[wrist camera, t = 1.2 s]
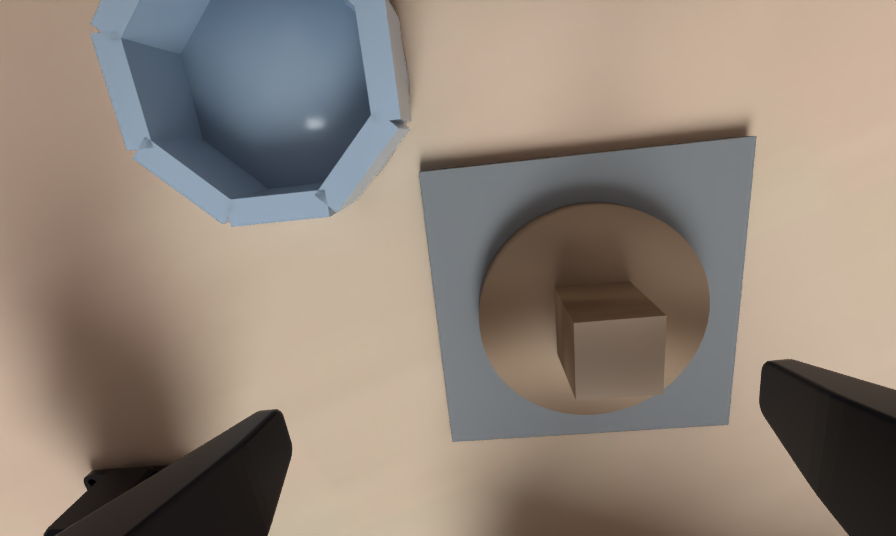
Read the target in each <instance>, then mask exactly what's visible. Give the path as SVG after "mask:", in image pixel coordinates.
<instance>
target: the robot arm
mask: <svg viewBox="0 0 896 536" xmlns="http://www.w3.org/2000/svg"><path fill="white" fill-rule="evenodd" d="M759 404H760V408H761V411H762V414H763V415H764V417H765V419H766V420H767V422H768V423H769V425H770V426H771V428H772V429H773V431H774V432H775V434H776V435H777V437H778V438H779V440H780V441H781V443H782V444H783V446H784V447H785V449H786V450H787V452H788V453H789V455H790V456H791V458H792V459H793V461H794V462H795V464H796V465H797V467H798V468H799V470H800V471H801V473H802V474H803V476H804V477H805V479H806V480H807V482H808V483H809V485H810V486H811V487H812V489H813V490H814V492H815V493H816V494H817V496H818V497H819V498H820V500H821V501H822V502H823V504H824V505H825V506H826V507H827V509H828V510H829V511H830V513H831V514H832V515H833V516H834V517H835V519H836V520H837V521H838V522H839V524H840V525H841V526H842V527H843V529H844V530H845V531H846V532H847V534H848V535H849V536H896V390H894V389H891V388H887V387H884V386H880V385H877V384H874V383H870V382H867V381H864V380H860V379H857V378H854V377H850V376H847V375H843V374H840V373H837V372H833V371H830V370H827V369H823V368H820V367H816V366H813V365H810V364H806V363H803V362H800V361H796V360H792V359H784V360H774V361H768V362H766V363H765V364H764V365H763V367H762V371H761V384H760V396H759ZM291 456H292V443H291V439H290V436H289V433H288V429H287V426H286V423H285V419H284V416H283V414H282V412H281V411H279V410H278V409H273V410H262V411H258V412H256V413H254V414H253V415H251V416H249V417H248V418H246V419H244V420H243V421H241V422H239V423H238V424H236V425H235V426H233V427H231V428H230V429H228V430H226V431H225V432H223V433H222V434H220V435H218V436H217V437H215V438H213V439H212V440H210V441H208V442H207V443H205V444H204V445H202V446H200V447H199V448H197V449H195V450H194V451H192V452H191V453H189V454H187V455H186V456H184V457H182V458H181V459H179V460H177V461H176V462H174V463H173V464H171V465H169V466H157V467H141V468H124V469H108V470H94V471H92V472H91V473H89V474H88V475H87V476H86V477H85V478H84V484H85V486H86V488H87V492H85V493H84V494H83V495H82V496H81V497H80V498H79V499H78V500H77V501H76V502H75V503H74V504H73V505H72V506H71V507H70V508H69V509H67V510H66V511H65V512H64V513H63V514H62V515H61V516H60V517H59V518H58V519H57V520H56V521H55V522H54V523H53V524H52V525H51V526H49V527H48V529H47V530H46V531H45V533H44V536H268V533H269V530H270V527H271V524H272V521H273V517H274V514H275V511H276V507H277V504H278V500H279V497H280V494H281V490H282V487H283V484H284V480H285V477H286V473H287V470H288V467H289V463H290V460H291Z"/></svg>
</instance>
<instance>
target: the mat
mask: <svg viewBox="0 0 896 536" xmlns="http://www.w3.org/2000/svg"><path fill="white" fill-rule="evenodd" d="M755 147H756V136H745V137H735V138H726V139H717V140H707V141H698V142H689V143H679V144H670V145H661V146H651V147H642V148H632V149H623V150H614V151H604V152H595V153H586V154H576V155H567V156H558V157H548V158H539V159H530V160H520V161H511V162H502V163H492V164H483V165H474V166H464V167H455V168H445V169H436V170H427V171H420V172H419V178H420V186H421V194H422V202H423V210H424V218H425V226H426V234H427V242H428V250H429V258H430V266H431V274H432V282H433V290H434V298H435V306H436V314H437V322H438V330H439V338H440V346H441V354H442V362H443V370H444V378H445V386H446V394H447V402H448V410H449V418H450V426H451V434H452V442H458V441H474V440H490V439H506V438H523V437H539V436H555V435H571V434H587V433H603V432H619V431H635V430H651V429H667V428H684V427H700V426H716V425H728V423H729V413H730V403H731V392H732V382H733V372H734V362H735V351H736V341H737V331H738V321H739V310H740V300H741V290H742V280H743V269H744V259H745V249H746V239H747V229H748V218H749V208H750V198H751V188H752V177H753V167H754V157H755ZM581 202H609V203H616V204H621V205H625V206H629V207H632V208H634V209H637V210H640V211H642V212H644V213H647V214H649V215H651V216H653V217H655V218H657V219H659V220H660V221H662V222H664V223H666V224H667V225H669V226H670V227H671V228H673V229H674V230H675V231H677V232H678V233H679V234H680V235H681V236H682V237H683V238H684V239H685V240H686V241H687V242H688V243H689V244H690V246H691V247H692V249H693V250H694V252H695V253H696V254H697V256H698V258H699V260H700V262H701V264H702V266H703V268H704V271H705V274H706V278H707V281H708V287H709V293H710V311H709V318H708V324H707V327H706V331H705V334H704V337H703V339H702V342H701V344H700V346H699V348H698V350H697V352H696V353H695V355H694V357H693V358H692V360H691V362H690V363H689V364H688V365H687V367H686V368H685V369H684V370H683V372H682V373H681V374H680V375H679V376H678V377H677V378H676V379H675V380H674V381H673V382H672V383H670V384H669V385H668V386H667V387H665V388H664V391H663V395H654V396H652V397H650V398H649V399H647V400H645V401H643V402H641V403H639V404H636V405H634V406H631V407H628V408H626V409H623V410H619V411H615V412H610V413H604V414H596V415H576V414H566V413H561V412H557V411H552V410H549V409H546V408H544V407H541V406H538V405H536V404H534V403H532V402H530V401H528V400H527V399H525V398H523V397H522V396H520V395H519V394H517V393H516V392H515V391H514V390H513V389H511V388H510V387H509V386H508V385H507V384H506V383H505V382H504V381H503V380H502V379H501V378H500V376H499V375H498V374H497V372H496V371H495V369H494V368H493V366H492V365H491V363H490V361H489V359H488V357H487V355H486V352H485V349H484V346H483V343H482V339H481V333H480V327H479V297H480V290H481V286H482V282H483V279H484V276H485V274H486V271H487V269H488V266H489V265H490V263H491V261H492V259H493V258H494V256H495V254H496V253H497V252H498V250H499V249H500V248H501V246H502V245H503V244H504V242H505V241H506V240H507V239H508V238H509V237H510V236H511V235H512V234H513V233H514V232H516V231H517V230H518V229H519V228H521V227H522V226H523V225H525V224H526V223H527V222H529V221H531V220H532V219H534V218H536V217H537V216H539V215H541V214H543V213H546V212H548V211H550V210H553V209H555V208H559V207H562V206H565V205H569V204H575V203H581Z"/></svg>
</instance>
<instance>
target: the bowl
mask: <svg viewBox="0 0 896 536" xmlns="http://www.w3.org/2000/svg"><path fill="white" fill-rule="evenodd" d="M90 24H92V25H93V26H94V27H96V28H97V29H98V30H100V31H101V32H99V33H92V34H90V35H91V38H92V41H93V45H94V48H95V51H96V54H97V57H98V60H99V64H100V67H101V70H102V73H103V76H104V79H105V83H106V86H107V89H108V92H109V95H110V99H111V102H112V105H113V108H114V111H115V114H116V118H117V121H118V124H119V127H120V130H121V134H122V137H123V140H124V143H125V146H126V149H127V151H132V150H137V152H136V154H135V155H134V157H133V159H134V160H135V161H136V162H138V163H139V164H141V165H142V166H143V167H145V168H146V169H148V170H149V171H150V172H152V173H153V174H154V175H156V176H157V177H159V178H160V179H161V180H163V181H164V182H165V183H167V184H168V185H170V186H171V187H172V188H174V189H175V190H176V191H178V192H179V193H181V194H182V195H183V196H185V197H186V198H187V199H189V200H190V201H192V202H193V203H194V204H196V205H197V206H198V207H200V208H201V209H203V210H204V211H205V212H207V213H208V214H209V215H211V216H212V217H214V218H215V219H216V220H218V221H219V222H221V223H222V224H225V223H228V222H230V224H231V227H233V226H243V225H253V224H263V223H273V222H283V221H293V220H302V219H312V218H322V217H330V216H332V215H333V214H335V213H337V212H339V211H340V210H342V209H344V208H345V207H347V206H349V205H350V204H352V203H353V202H355V201H357V200H358V199H359V197H360V196H361V195H362V193H363V192H364V191H365V189H366V188H367V187H368V185H369V184H370V182H371V181H372V180H373V178H374V177H375V176H377V175H378V173H379V172H380V171H381V170H382V169H383V168H384V166H385V165H386V164H387V162H388V161H389V159H390V158H391V156H392V155H393V153H394V151H395V149H396V147H397V146H398V145H399V143H400V142H401V141H402V139H403V138H404V136H405V135H406V134H407V132H408V131H409V130H410V129H409V128H408V127H407V126H406V125H405V123H406V122H411V121H412V118H411V110H410V102H409V78H408V70H407V65H406V59H405V55H404V52H403V46H402V38H401V30H400V22H399V18H398V16H397V14H396V13H395V10H394V8H393V6H392V5H391V3H390V1H389V0H101V2H100V4H99V7H98V9H97V11H96V13H95V15H94V17H93V19H92V21H91V23H90Z"/></svg>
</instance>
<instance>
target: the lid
mask: <svg viewBox="0 0 896 536" xmlns="http://www.w3.org/2000/svg"><path fill="white" fill-rule="evenodd" d="M709 311H710V293H709V287H708V281H707V278H706V274H705V271H704V268H703V266H702V264H701V262H700V260H699V258H698V256H697V254H696V253H695V252H694V250H693V249H692V247H691V246H690V244H689V243H688V242H687V241H686V240H685V239H684V238H683V237H682V236H681V235H680V234H679V233H678V232H677V231H675V230H674V229H673V228H671V227H670V226H669V225H667V224H666V223H664V222H662V221H660V220H659V219H657V218H655V217H653V216H651V215H649V214H647V213H644V212H642V211H640V210H637V209H634V208H632V207H629V206H625V205H621V204H616V203H609V202H581V203H575V204H569V205H565V206H562V207H559V208H555V209H553V210H550V211H548V212H546V213H543V214H541V215H539V216H537V217H536V218H534V219H532V220H531V221H529V222H527V223H526V224H525V225H523V226H522V227H521V228H519V229H518V230H517V231H516V232H514V233H513V234H512V235H511V236H510V237H509V238H508V239H507V240H506V241H505V242H504V244H503V245H502V246H501V248H500V249H499V250H498V252H497V253H496V254H495V256H494V258H493V259H492V261H491V263H490V265H489V266H488V269H487V271H486V274H485V276H484V279H483V282H482V286H481V290H480V297H479V327H480V333H481V339H482V343H483V346H484V349H485V352H486V355H487V357H488V359H489V361H490V363H491V365H492V366H493V368H494V369H495V371H496V372H497V374H498V375H499V376H500V378H501V379H502V380H503V381H504V382H505V383H506V384H507V385H508V386H509V387H510V388H511V389H513V390H514V391H515V392H516V393H517V394H519V395H520V396H522V397H523V398H525V399H527V400H528V401H530V402H532V403H534V404H536V405H538V406H541V407H544V408H546V409H549V410H552V411H557V412H561V413H566V414H576V415H596V414H604V413H610V412H615V411H619V410H623V409H626V408H628V407H631V406H634V405H636V404H639V403H641V402H643V401H645V400H647V399H649V398H650V397H652V396H654V395H663V391H664V388H665V387H667V386H668V385H669V384H670V383H672V382H673V381H674V380H675V379H676V378H677V377H678V376H679V375H680V374H681V373H682V372H683V370H684V369H685V368H686V367H687V365H688V364H689V363H690V362H691V360H692V358H693V357H694V355H695V353H696V352H697V350H698V348H699V346H700V344H701V342H702V339H703V337H704V334H705V331H706V327H707V324H708V318H709Z"/></svg>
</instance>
